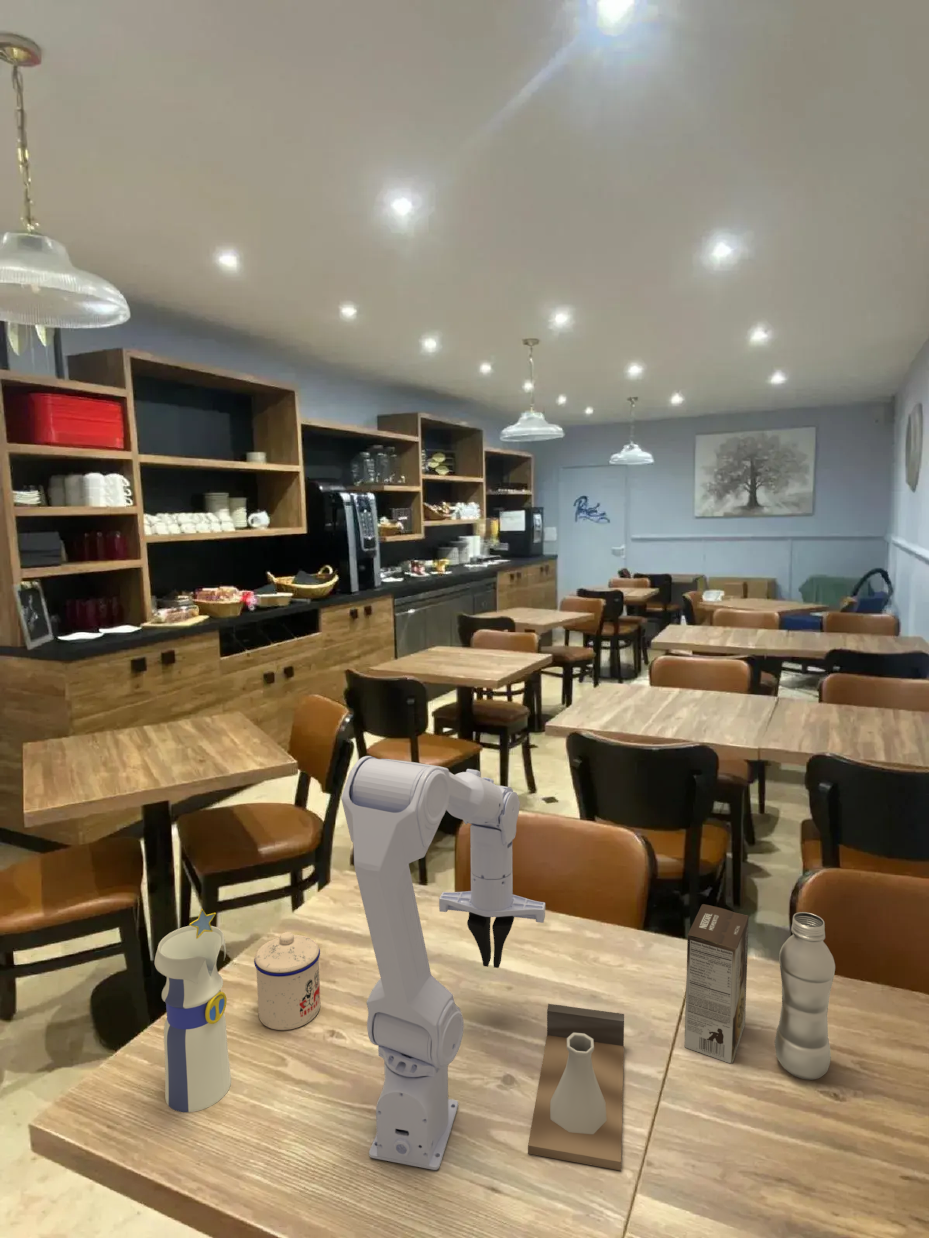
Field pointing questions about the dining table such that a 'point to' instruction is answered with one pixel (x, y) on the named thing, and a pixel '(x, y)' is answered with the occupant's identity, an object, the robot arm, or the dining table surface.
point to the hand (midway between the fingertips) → (492, 962)
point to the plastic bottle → (805, 999)
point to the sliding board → (609, 1075)
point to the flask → (578, 1090)
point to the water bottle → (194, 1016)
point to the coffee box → (716, 982)
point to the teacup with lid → (288, 981)
